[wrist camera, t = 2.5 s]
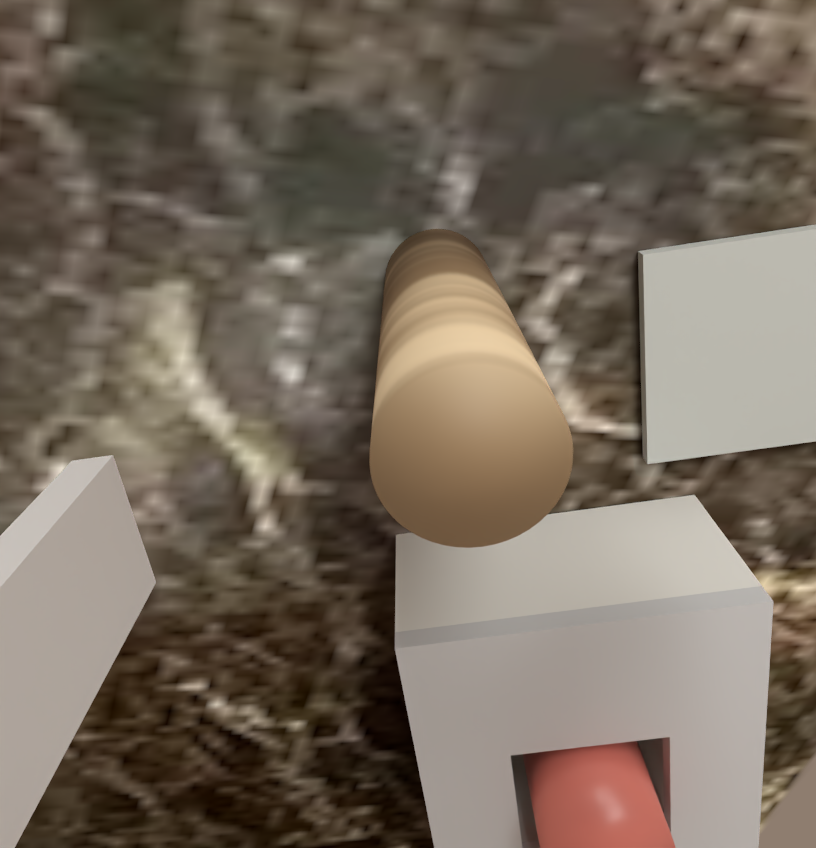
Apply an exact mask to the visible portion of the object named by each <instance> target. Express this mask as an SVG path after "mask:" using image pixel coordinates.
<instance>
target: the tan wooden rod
mask: <svg viewBox="0 0 816 848" xmlns="http://www.w3.org/2000/svg"><path fill="white" fill-rule="evenodd" d="M572 462H573V444H572V437H571V433H570V429H569V426H568V423H567V421H566V419H565V417H564V415H563V413H562V411H561V409H560V407H559V405H558V403H557V401H556V399H555V397H554V395H553V393H552V391H551V389H550V387H549V385H548V383H547V381H546V379H545V377H544V375H543V373H542V371H541V370H540V368H539V366H538V364H537V362H536V360H535V358H534V356H533V354H532V352H531V350H530V348H529V346H528V344H527V342H526V340H525V338H524V336H523V334H522V332H521V330H520V328H519V327H518V325H517V323H516V321H515V319H514V317H513V315H512V313H511V311H510V309H509V307H508V305H507V303H506V301H505V299H504V297H503V295H502V293H501V291H500V289H499V287H498V285H497V284H496V282H495V280H494V278H493V276H492V274H491V272H490V270H489V268H488V266H487V264H486V262H485V260H484V258H483V256H482V254H481V253H480V251H479V250H478V248H477V247H476V246H475V245H474V244H473V243H472V242H471V241H470V240H469V239H467V238H466V237H464V236H463V235H461V234H458V233H456V232H453V231H450V230H445V229H430V230H425V231H422V232H419V233H416V234H414V235H412V236H410V237H409V238H408V239H406V240H405V241H404V242H403V243H401V244H400V245H399V246H398V248H397V249H396V250H395V251H394V253H393V255H392V256H391V258H390V261H389V263H388V266H387V269H386V275H385V286H384V297H383V308H382V320H381V331H380V342H379V353H378V365H377V376H376V387H375V398H374V409H373V421H372V432H371V443H370V460H369V464H370V473H371V478H372V482H373V485H374V488H375V490H376V493H377V495H378V497H379V499H380V501H381V502H382V504H383V506H384V507H385V509H386V510H387V511H388V512H389V513H390V515H391V516H392V517H393V518H394V519H395V520H396V521H397V522H398V523H399V524H400V525H402V526H403V527H405V528H406V529H407V530H409V531H410V532H412V533H414V534H415V535H417V536H419V537H421V538H423V539H426V540H428V541H431V542H434V543H437V544H441V545H445V546H452V547H463V548H473V547H484V546H489V545H494V544H498V543H501V542H504V541H507V540H510V539H512V538H514V537H517V536H519V535H521V534H522V533H524V532H526V531H527V530H529V529H531V528H532V527H533V526H535V525H536V524H537V523H539V522H540V521H541V520H542V519H543V518H544V517H545V516H546V515H547V514H548V513H549V512H550V511H551V510H552V508H553V507H554V506H555V505H556V503H557V502H558V500H559V499H560V497H561V496H562V494H563V492H564V490H565V487H566V485H567V483H568V480H569V477H570V473H571V469H572Z"/></svg>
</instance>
